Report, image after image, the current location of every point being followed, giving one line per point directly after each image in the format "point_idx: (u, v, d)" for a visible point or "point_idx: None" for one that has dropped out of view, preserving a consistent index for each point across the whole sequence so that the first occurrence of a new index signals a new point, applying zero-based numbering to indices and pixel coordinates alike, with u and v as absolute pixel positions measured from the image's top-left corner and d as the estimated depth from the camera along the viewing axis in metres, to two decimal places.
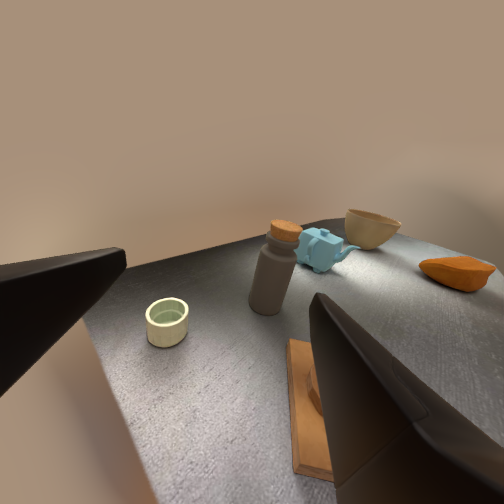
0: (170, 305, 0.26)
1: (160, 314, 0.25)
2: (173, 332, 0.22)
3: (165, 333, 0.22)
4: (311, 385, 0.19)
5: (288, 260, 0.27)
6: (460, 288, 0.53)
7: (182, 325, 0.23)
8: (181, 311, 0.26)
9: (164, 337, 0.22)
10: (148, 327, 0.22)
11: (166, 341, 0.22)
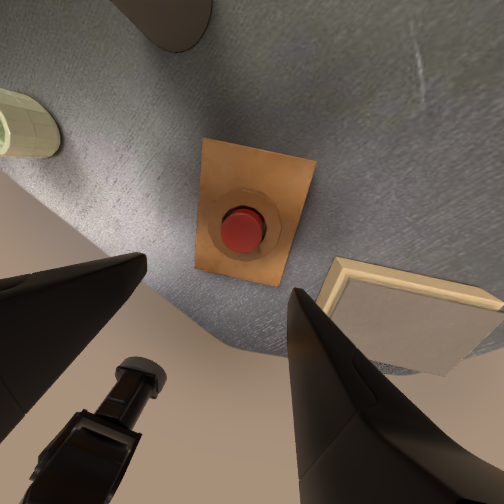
0: None
1: None
2: (25, 152, 0.16)
3: (17, 156, 0.16)
4: (207, 226, 0.16)
5: None
6: None
7: (24, 140, 0.15)
8: None
9: (25, 156, 0.16)
10: None
11: (37, 156, 0.17)
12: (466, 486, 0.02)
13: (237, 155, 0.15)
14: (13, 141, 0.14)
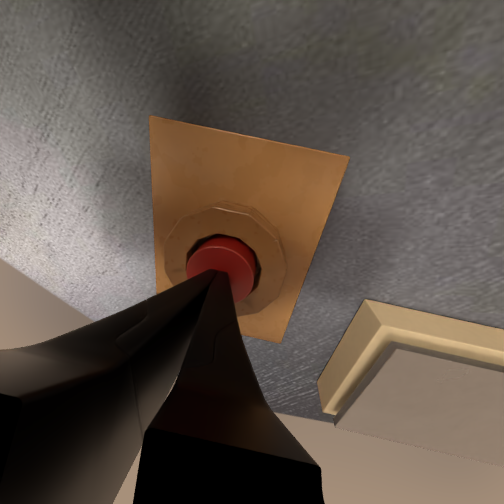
0: None
1: None
2: None
3: None
4: (165, 264, 0.10)
5: None
6: None
7: None
8: None
9: None
10: None
11: None
12: (184, 419, 0.02)
13: (210, 147, 0.09)
14: None
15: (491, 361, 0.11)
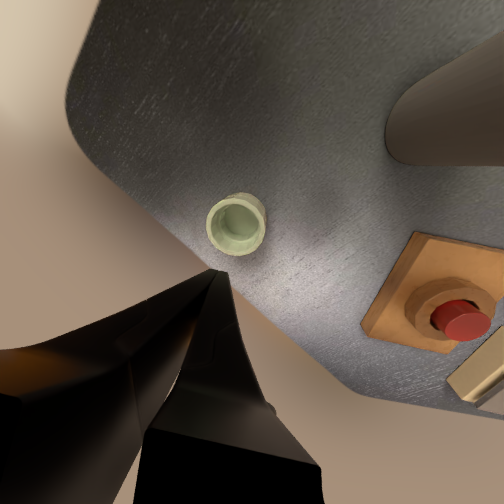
0: None
1: (224, 210, 0.17)
2: None
3: None
4: (415, 312, 0.17)
5: None
6: None
7: None
8: None
9: None
10: None
11: None
12: (184, 419, 0.02)
13: (457, 253, 0.16)
14: None
15: None
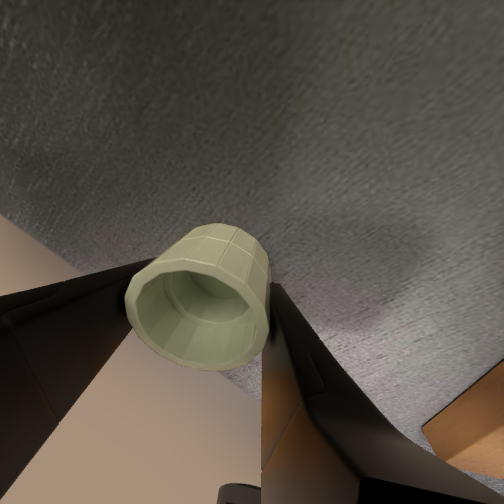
0: None
1: None
2: None
3: None
4: None
5: None
6: None
7: None
8: None
9: None
10: None
11: None
12: (378, 465, 0.02)
13: None
14: None
15: None
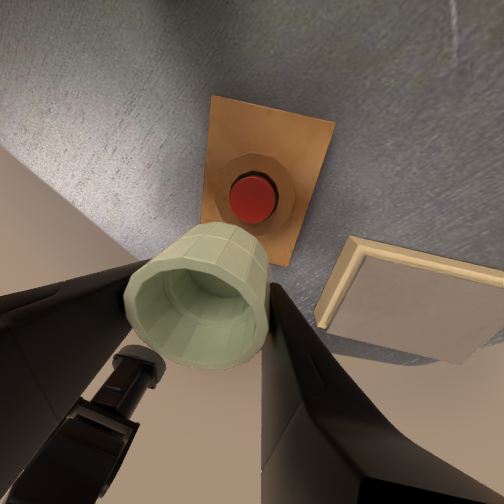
0: None
1: None
2: None
3: None
4: (214, 195, 0.15)
5: None
6: None
7: None
8: None
9: None
10: None
11: None
12: (378, 465, 0.02)
13: (248, 115, 0.14)
14: None
15: None
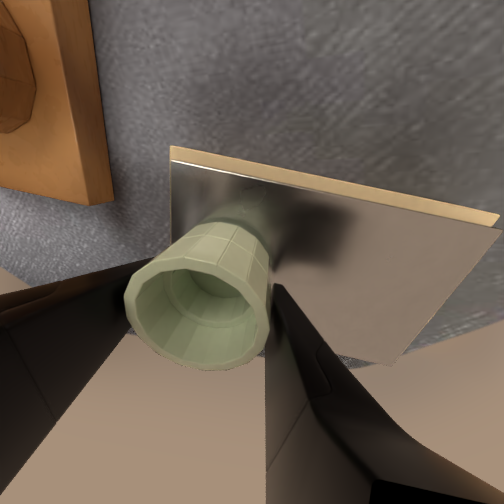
0: None
1: None
2: None
3: None
4: None
5: None
6: None
7: None
8: None
9: None
10: None
11: None
12: (389, 468, 0.02)
13: None
14: None
15: None
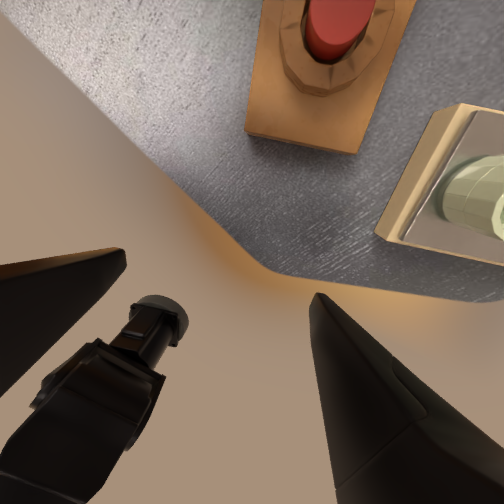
0: None
1: None
2: None
3: None
4: (280, 24, 0.11)
5: None
6: None
7: None
8: None
9: None
10: (478, 228, 0.12)
11: None
12: None
13: None
14: None
15: None
